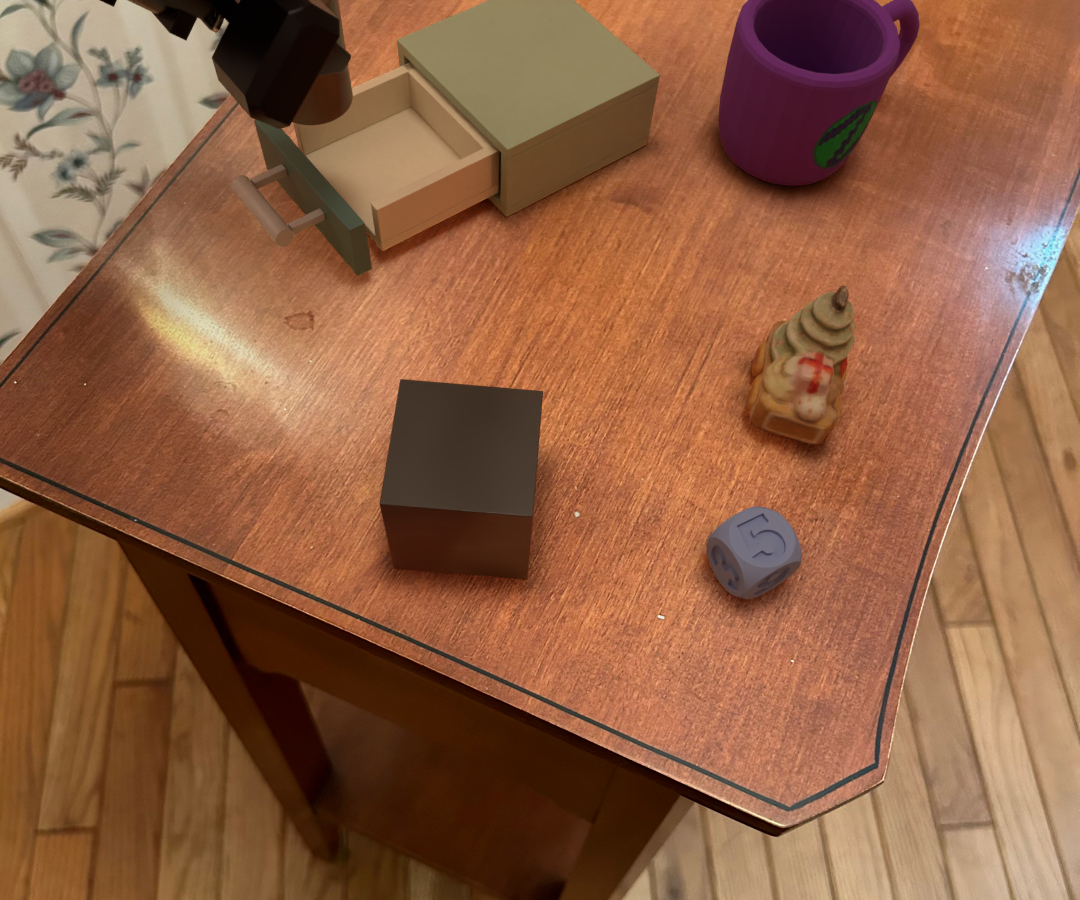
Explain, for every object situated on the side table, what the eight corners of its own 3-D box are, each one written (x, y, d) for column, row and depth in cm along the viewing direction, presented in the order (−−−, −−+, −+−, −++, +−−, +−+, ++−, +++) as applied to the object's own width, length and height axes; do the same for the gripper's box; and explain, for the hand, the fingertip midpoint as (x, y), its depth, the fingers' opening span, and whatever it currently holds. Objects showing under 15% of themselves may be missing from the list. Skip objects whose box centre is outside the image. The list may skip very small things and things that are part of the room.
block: (393, 568, 56) (379, 504, 49) (411, 454, 60) (400, 378, 52) (527, 580, 56) (533, 516, 49) (537, 465, 60) (543, 390, 52)
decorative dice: (753, 527, 58) (770, 496, 55) (790, 580, 57) (810, 551, 53) (699, 554, 57) (713, 523, 54) (736, 608, 56) (752, 580, 52)
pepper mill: (285, 134, 58) (252, -3, 50) (262, 82, 60) (228, -58, 52) (363, 114, 59) (343, -22, 51) (338, 64, 61) (316, -75, 53)
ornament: (833, 459, 61) (893, 363, 52) (739, 443, 61) (782, 345, 52) (837, 361, 64) (893, 256, 56) (748, 346, 65) (789, 240, 56)
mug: (773, 220, 70) (814, 104, 61) (679, 128, 74) (704, 7, 65) (937, 135, 75) (997, 16, 66) (840, 54, 79) (885, -69, 70)
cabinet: (506, 217, 69) (507, 149, 64) (403, 111, 74) (396, 39, 68) (647, 144, 73) (660, 74, 68) (542, 47, 78) (546, -25, 72)
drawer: (308, 302, 63) (296, 256, 60) (218, 191, 68) (202, 142, 64) (504, 201, 68) (505, 153, 65) (410, 104, 73) (405, 53, 69)
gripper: (261, -178, 37) (491, -4, 50) (54, -371, 43) (308, -171, 56) (141, 77, 41) (381, 175, 55) (-30, -131, 48) (223, 2, 61)
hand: (322, 38), depth 56 cm, fingers closed on pepper mill, 5 cm apart
